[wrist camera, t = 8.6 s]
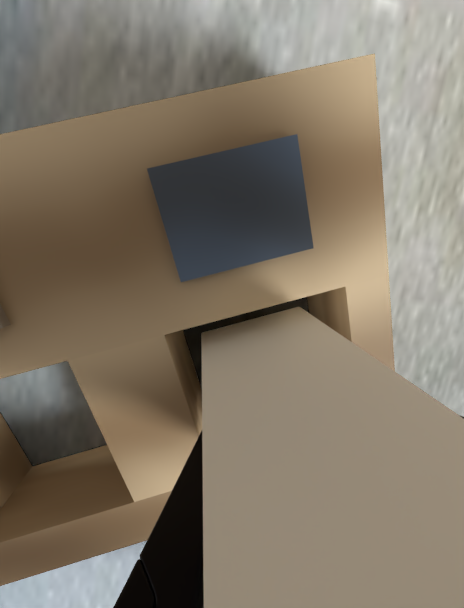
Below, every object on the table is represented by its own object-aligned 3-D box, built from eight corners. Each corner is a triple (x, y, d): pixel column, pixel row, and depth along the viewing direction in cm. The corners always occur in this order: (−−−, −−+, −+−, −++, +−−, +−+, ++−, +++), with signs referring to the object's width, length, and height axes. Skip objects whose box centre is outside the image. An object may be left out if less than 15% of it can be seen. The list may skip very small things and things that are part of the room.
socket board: (351, 406, 14) (406, 467, 10) (20, 504, 13) (-53, 611, 9) (315, 116, 10) (382, 45, 6) (-161, 224, 9) (-413, 214, 5)
